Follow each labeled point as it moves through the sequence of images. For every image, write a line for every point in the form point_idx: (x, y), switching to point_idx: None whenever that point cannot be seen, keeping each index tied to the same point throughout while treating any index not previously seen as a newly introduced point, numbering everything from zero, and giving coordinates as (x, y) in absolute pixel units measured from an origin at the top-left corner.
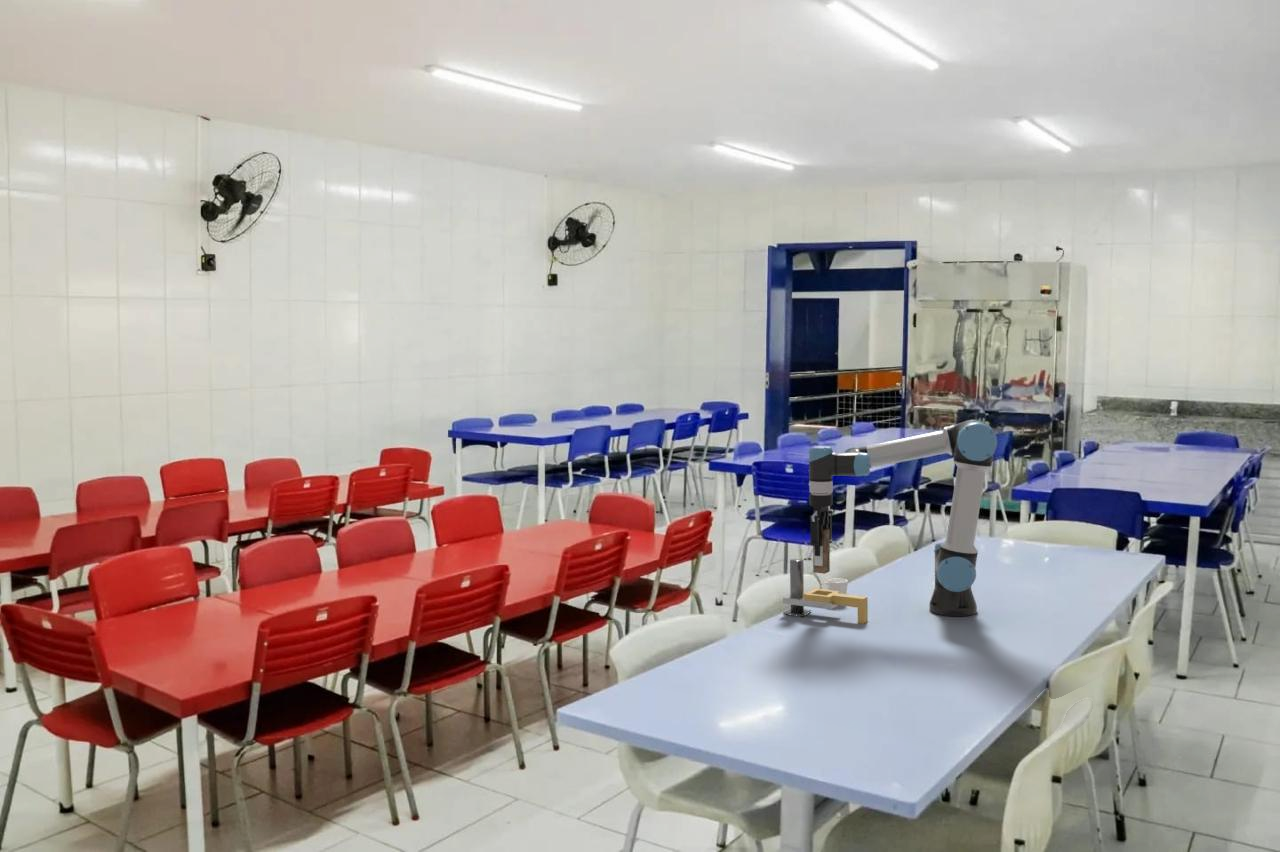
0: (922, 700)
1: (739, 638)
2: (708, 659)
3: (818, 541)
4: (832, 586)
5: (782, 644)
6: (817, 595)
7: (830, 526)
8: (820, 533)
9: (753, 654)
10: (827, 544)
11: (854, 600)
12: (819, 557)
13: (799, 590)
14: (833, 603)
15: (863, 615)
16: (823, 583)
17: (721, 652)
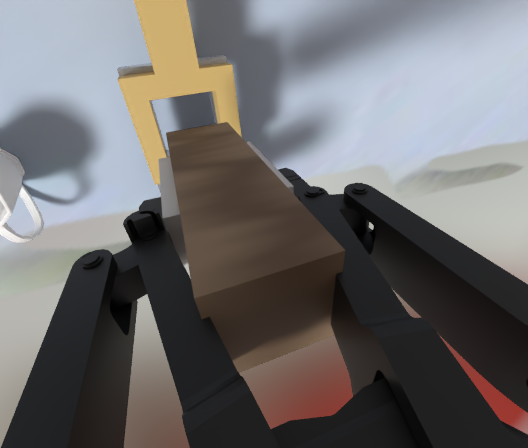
0: None
1: (415, 149)
2: (523, 111)
3: (369, 197)
4: (10, 195)
5: (439, 48)
6: (234, 118)
7: (73, 380)
8: (362, 249)
9: (502, 60)
10: (221, 190)
11: None
12: None
13: None
14: (200, 58)
15: None
16: (19, 236)
17: (491, 119)
